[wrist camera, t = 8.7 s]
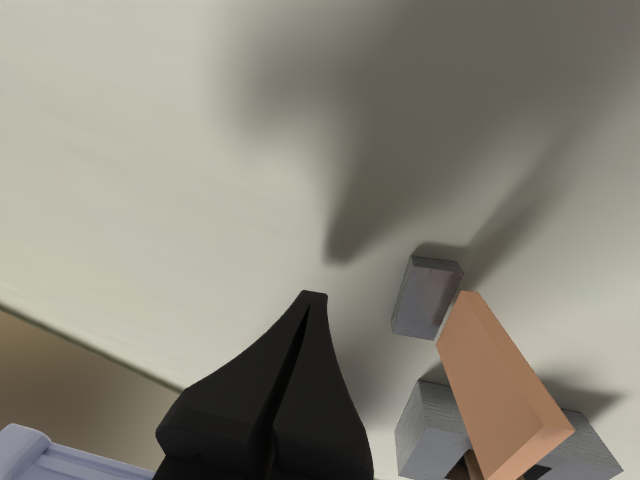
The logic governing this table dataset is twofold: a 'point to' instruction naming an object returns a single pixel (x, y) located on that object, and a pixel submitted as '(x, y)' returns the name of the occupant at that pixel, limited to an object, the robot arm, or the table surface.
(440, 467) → the block
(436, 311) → the base
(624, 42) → the table surface
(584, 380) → the table surface
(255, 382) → the robot arm
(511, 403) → the tan flat block
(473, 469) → the peg
